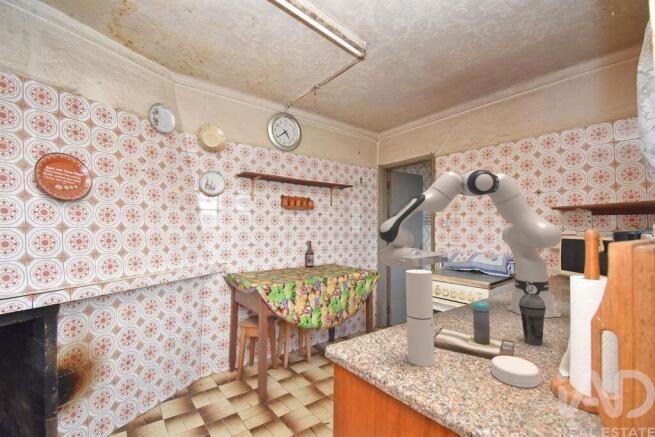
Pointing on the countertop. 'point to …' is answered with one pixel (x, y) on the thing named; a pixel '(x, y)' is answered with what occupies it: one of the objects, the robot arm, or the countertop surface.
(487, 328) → the bottle
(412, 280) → the cylindrical container
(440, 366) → the countertop surface
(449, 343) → the clipboard
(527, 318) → the beverage cup
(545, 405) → the countertop surface
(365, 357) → the countertop surface
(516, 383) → the coaster
